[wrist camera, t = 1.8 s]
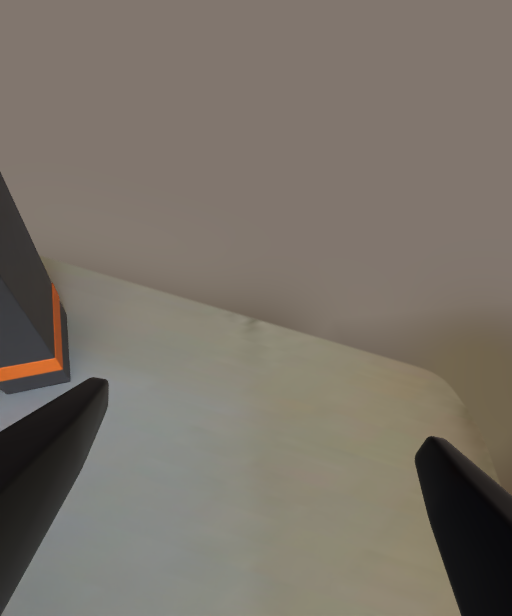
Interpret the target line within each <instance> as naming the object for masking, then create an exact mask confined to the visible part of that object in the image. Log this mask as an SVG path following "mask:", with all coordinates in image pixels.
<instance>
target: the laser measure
mask: <svg viewBox="0 0 512 616" xmlns="http://www.w3.org/2000/svg"><path fill="white" fill-rule="evenodd" d="M65 382H70V365H69V349H68V334H67V318H66V313H65V311H64V309H63V307H62V304H61V302H60V300H59V296H58V293H57V291H56V289H55V287H54V285H53V283H51V281H50V278H49V276H48V274H47V272H46V270H45V268H44V265H43V263H42V261H41V259H40V257H39V255H38V253H37V251H36V248H35V246H34V244H33V242H32V239H31V237H30V235H29V233H28V231H27V229H26V227H25V224H24V222H23V220H22V218H21V216H20V214H19V211H18V209H17V207H16V205H15V203H14V201H13V199H12V196H11V194H10V192H9V190H8V188H7V185H6V183H5V181H4V179H3V177H2V175H1V172H0V389H1V390H2V391H3V392H5V393H6V394H12V393H17V392H22V391H26V390H31V389H36V388H41V387H46V386H51V385H56V384H60V383H65Z"/></svg>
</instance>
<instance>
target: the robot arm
mask: <svg viewBox="0 0 512 616" xmlns="http://www.w3.org/2000/svg"><path fill="white" fill-rule="evenodd" d="M108 386H109V385H108V381H107V380H105V379H100V378H94V377H92V378H89V379H87V380H86V381H84V382H82V383H81V384H79V385H77V386H76V387H74V388H72V389H71V390H69V391H67V392H66V393H64V394H62V395H61V396H59V397H57V398H56V399H54V400H52V401H51V402H49V403H47V404H46V405H44V406H42V407H41V408H39V409H37V410H36V411H34V412H32V413H31V414H29V415H27V416H26V417H24V418H22V419H21V420H19V421H17V422H16V423H14V424H12V425H11V426H9V427H7V428H6V429H4V430H2V431H1V432H0V616H1V614H2V612H3V611H4V609H5V607H6V605H7V603H8V602H9V600H10V598H11V596H12V594H13V593H14V591H15V589H16V587H17V585H18V584H19V582H20V580H21V578H22V576H23V575H24V573H25V571H26V569H27V567H28V565H29V564H30V562H31V560H32V558H33V556H34V555H35V553H36V551H37V549H38V547H39V546H40V544H41V542H42V540H43V538H44V537H45V535H46V533H47V531H48V529H49V528H50V526H51V524H52V522H53V520H54V519H55V517H56V515H57V513H58V511H59V509H60V508H61V506H62V504H63V502H64V500H65V499H66V497H67V495H68V493H69V491H70V490H71V488H72V486H73V484H74V482H75V481H76V479H77V477H78V475H79V473H80V471H81V469H82V467H83V465H84V463H85V460H86V458H87V456H88V453H89V451H90V449H91V446H92V444H93V441H94V439H95V437H96V434H97V432H98V430H99V427H100V425H101V422H102V420H103V418H104V415H105V413H106V410H107V407H108ZM415 465H416V469H417V473H418V477H419V481H420V486H421V490H422V494H423V498H424V502H425V506H426V510H427V514H428V518H429V521H430V524H431V527H432V530H433V533H434V536H435V539H436V542H437V545H438V548H439V551H440V554H441V557H442V560H443V563H444V566H445V569H446V572H447V575H448V578H449V581H450V584H451V587H452V589H453V592H454V595H455V598H456V601H457V604H458V607H459V610H460V613H461V616H512V496H511V495H510V494H509V493H508V492H507V491H506V490H505V489H503V488H502V487H501V486H500V485H499V484H497V483H496V482H495V481H494V480H493V479H492V478H490V477H489V476H488V475H487V474H486V473H485V472H483V471H482V470H481V469H480V468H479V467H477V466H476V465H475V464H474V463H473V462H472V461H470V460H469V459H468V458H467V457H466V456H464V455H463V454H462V453H461V452H460V451H459V450H457V449H456V448H455V447H454V446H453V445H452V444H450V443H449V442H448V441H447V440H445V439H443V438H439V437H433V436H430V437H428V438H427V439H426V440H425V441H424V443H423V444H422V446H421V447H420V449H419V450H418V452H417V453H416V455H415Z"/></svg>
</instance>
